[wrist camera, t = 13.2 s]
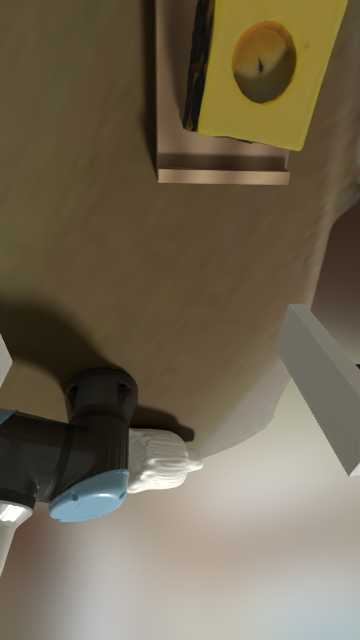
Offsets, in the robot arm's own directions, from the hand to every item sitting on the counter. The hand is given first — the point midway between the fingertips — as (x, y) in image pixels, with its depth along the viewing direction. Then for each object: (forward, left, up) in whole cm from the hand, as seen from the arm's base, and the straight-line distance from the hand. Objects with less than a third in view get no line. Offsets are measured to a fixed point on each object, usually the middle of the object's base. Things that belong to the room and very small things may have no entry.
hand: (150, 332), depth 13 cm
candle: (+10, +11, -28) cm, 32 cm away
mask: (+2, -62, -32) cm, 70 cm away
